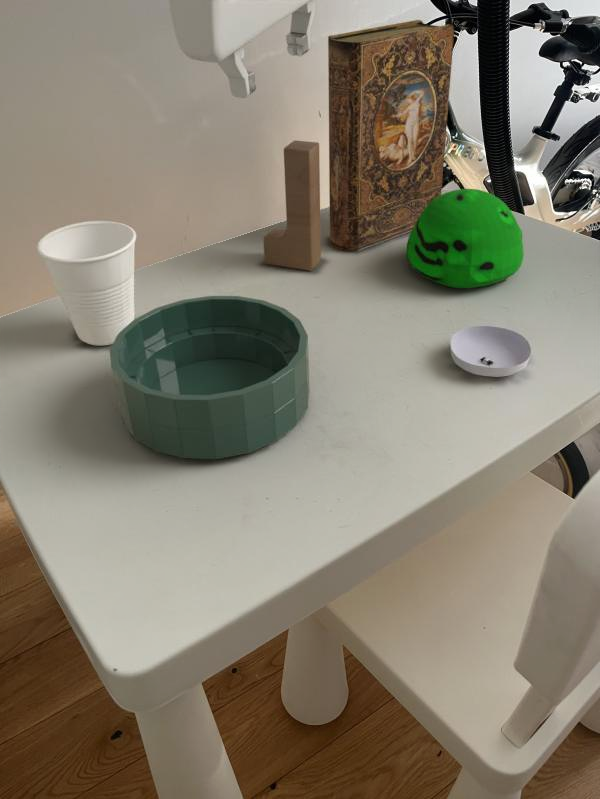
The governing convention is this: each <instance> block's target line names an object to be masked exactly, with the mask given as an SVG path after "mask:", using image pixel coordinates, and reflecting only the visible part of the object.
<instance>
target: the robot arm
mask: <svg viewBox="0 0 600 799" xmlns="http://www.w3.org/2000/svg"><path fill="white" fill-rule="evenodd" d="M168 5H169V11H170V15H171V16H170V17H171V22H172V25H173V26H172V27H173V30H174V34H175V38H176V43H177V45H178V47H179V49H180V50H181V51H182V53H184V55H185V56H186V57H188V58H189V59H190V60H194V61H199V62H205V63H206V62H207V63H214V64H216V63H217V65H218V66H219V67H220V69H221V70H222V72H223V73H224V74H225V76H226V77H227V79H228V83H229V90H230V93H231V96H233V97H235V98H239V99H246V98H247V97H249V96H251V95H252V94H253V93H255V91H256V90H257V85H256V84H255V82H256V77H255V72H254V71H250V70H249V71H248V70H247V68H246V67H245V65H244V64H243V61H242V60H243V59H245V48H244V46H246V45H248V43H250V42H251V41H253V40H255V39H257V37H259V36H262V34H264V33H266V31H268V30H269V29H271V28H273V27H274V26H275V25H277V24H278V23H280V22H281V21H283V20H285V19H286V18H288V17H289V16H291V20H290V29H289V30H290V31H289V33H287V34H286V35H285V40H286V45H287V46H286V47H287V48H286V50H287V52H288V54H289V55H290V56H294V57H295V56H297V57H302V56H304V55H305V54H306V53H308V52H309V51H310V50H311V48H312V42H311V31H312V26H313V21H314V18H315V13H316V0H168Z"/></svg>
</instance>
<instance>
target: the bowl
mask: <svg viewBox="0 0 600 799" xmlns="http://www.w3.org/2000/svg"><path fill="white" fill-rule="evenodd" d="M109 359H110V368H111V373H112V378H113V382H114V386H115V391H116V395H117V396H116V397H117V401H118V406H119V409H120V414H121V418H122V422H123V424H124V426H125V427H126V429H127V430H128V432H129V433H130V435H131V436H132V437H133V438H134V439H135V440H136V441H137V442H139V443H141V444H143V445H144V446H146V447H147V448H149V449H151V450H153V451H154V452H157V453H161V454H164V455H169V456H173V457H177V458H181V459H208V460H218V459H225V458H229V457H235V456H239V455H245V454H249V453H252V452H254V451H257V450H260V449H261V448H265V447H266V446H268V445H271V444H274V443H275V442H277V441H278V440H280V439H282V437H284V436H286V434H288V433H289V432H291V431H292V430H293V429H294V428H295V427H297V426H298V424H299V423H300V421H301V420H302V418H303V416H304V415H305V413H306V411H307V410H308V408H309V401H310V400H309V399H310V365H309V362H310V361H309V335H308V333H307V331H306V329H305V327H304V325H303V323H302V321H301V320H300V319H299V318H298V317H297V316H296V315H294V314H293V313H291V312H290V311H289V310H287V309H286V308H284V307H281V306H280V305H277V304H274V303H271V302H269V301H267V300H264V299H258V298H252V297H245V296H240V295H208V296H207V295H206V296H200V297H193V298H186V299H181V300H178V301H174V302H171V303H168V304H165V305H161V306H158V307H155V308H154V309H152V310H150V311H148V312H145V313H143V314H142V315H139V316H138V317H136V318H134V320H133V321H132V322H131V323H130V324H128V325H127V326H126V327H125V328H124V329H123V330H122V331H120V332H119V333H118V335H117V337H116V339H115V341H114V343H113V344H111V345H110V349H109Z"/></svg>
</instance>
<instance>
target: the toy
mask: <svg viewBox="0 0 600 799" xmlns="http://www.w3.org/2000/svg"><path fill="white" fill-rule="evenodd" d="M405 250H406V252H405V256H406V259H407V261H408V263H409V265H410V266H411V268H412V269H413V270H415V272H416V273H418V274H420V275H421V276H422V277H424V278H426V279H428V280H430V281H432V282H433V283H434V282H435V283H437V284H440V285H443V286H446V287H448V288H449V287H450V288H454V289H471V288H479V287H485V286H489V285H493V284H496V283H499V282H502V281H505V280H507V279H508V278H510V277H512V276H513V275H515V274H516V273H517V272H518V271H519V269H520V268H521V266H522V264H523V260H524V244H523V230H522V228H521V227H520V225H519V224H518V222H517V219H516V217H515V215H514V213H513V212H512V210H511V208H509V206H508V205H507V204H506V203H505V202H504V201H502V199H500V198H499V197H497V196H496V195H494V194H492V193H491V192H487V191H486V190H485V191H484V190H481V189H475V188H461V189H455V190H451V191H448V192H446V193H441V195H440V196H438V197H436V198H435V199H433V200H432V201H431V202H430V203H429V204H428V206H427V207H426V208H425V209H424V211H423V212H422V213H421V215H420V216H419V218H418V220H417V222H416V224H415V226H414V228H413V230H412V231H410V234H409V235H408V239H407V243H406V249H405Z"/></svg>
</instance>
